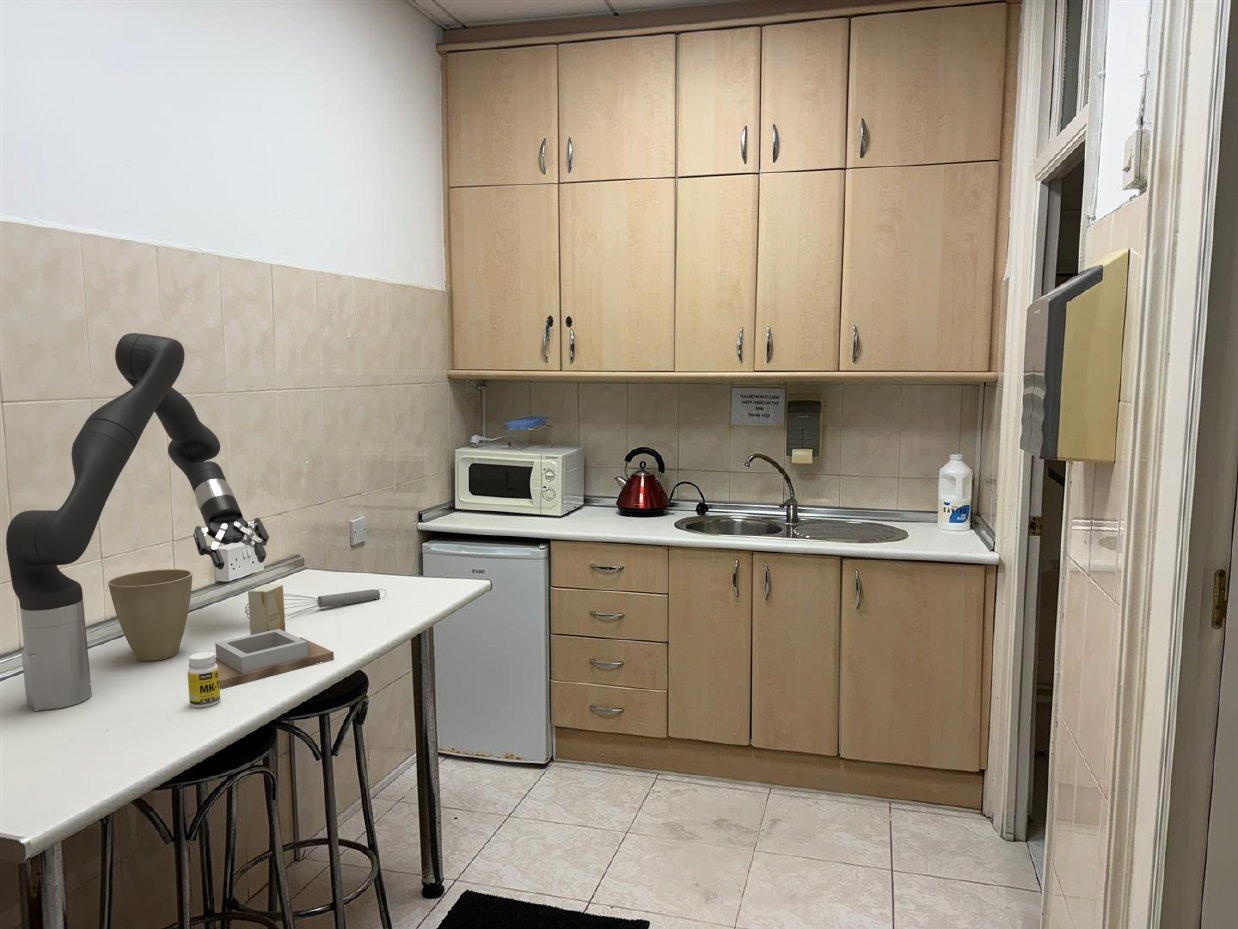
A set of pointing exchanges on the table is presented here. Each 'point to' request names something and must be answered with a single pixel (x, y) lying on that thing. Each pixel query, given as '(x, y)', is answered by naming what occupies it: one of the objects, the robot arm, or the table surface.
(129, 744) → the table surface
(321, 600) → the kitchen whisk
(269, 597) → the skincare box
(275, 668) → the board
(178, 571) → the plant pot
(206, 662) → the supplement bottle
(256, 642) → the collar
